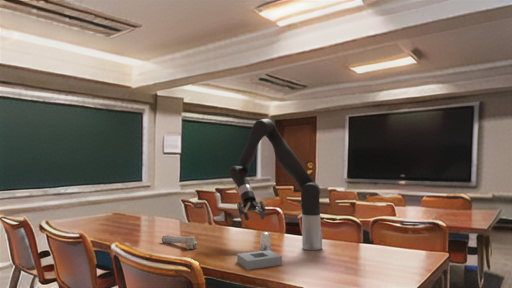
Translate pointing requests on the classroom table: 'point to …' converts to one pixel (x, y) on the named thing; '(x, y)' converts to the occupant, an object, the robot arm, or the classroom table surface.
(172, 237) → the grey elongated piece
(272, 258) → the jig plate
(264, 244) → the steel bushing
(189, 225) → the classroom table surface
